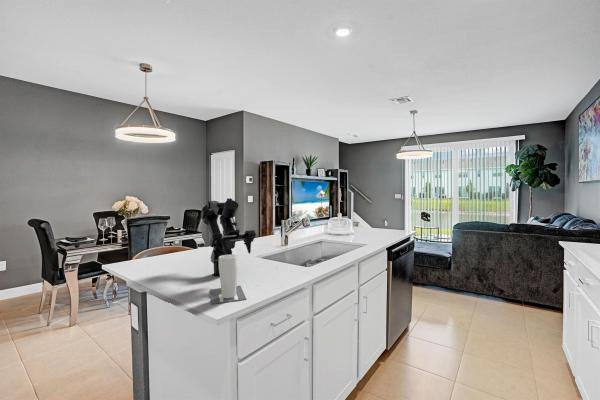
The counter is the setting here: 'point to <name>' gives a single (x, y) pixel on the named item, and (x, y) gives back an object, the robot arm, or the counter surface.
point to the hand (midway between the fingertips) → (239, 254)
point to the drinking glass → (228, 275)
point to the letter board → (217, 298)
